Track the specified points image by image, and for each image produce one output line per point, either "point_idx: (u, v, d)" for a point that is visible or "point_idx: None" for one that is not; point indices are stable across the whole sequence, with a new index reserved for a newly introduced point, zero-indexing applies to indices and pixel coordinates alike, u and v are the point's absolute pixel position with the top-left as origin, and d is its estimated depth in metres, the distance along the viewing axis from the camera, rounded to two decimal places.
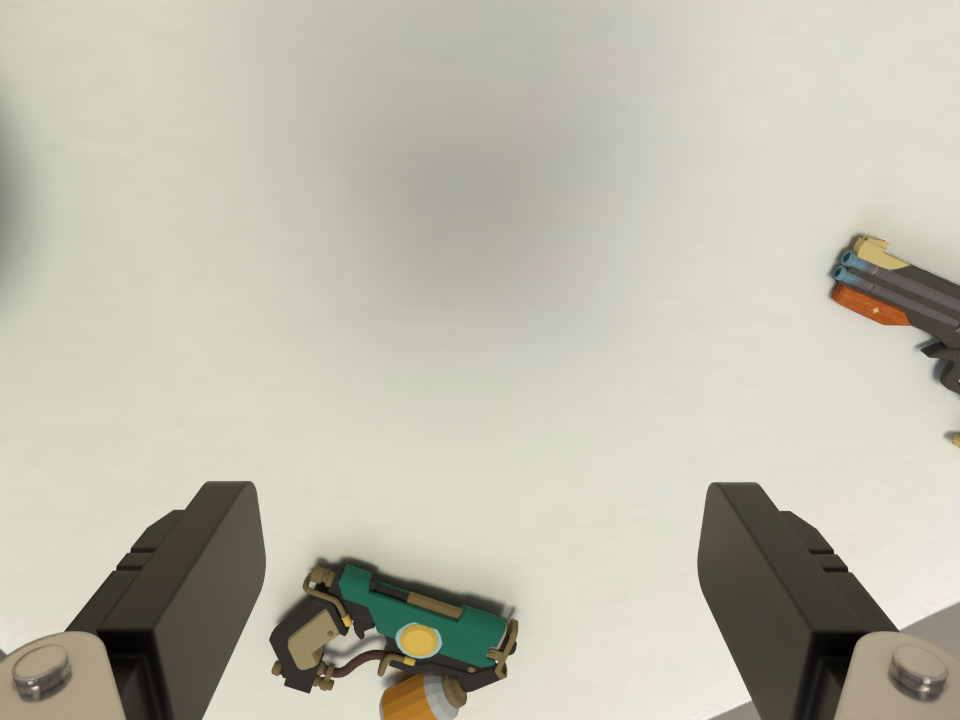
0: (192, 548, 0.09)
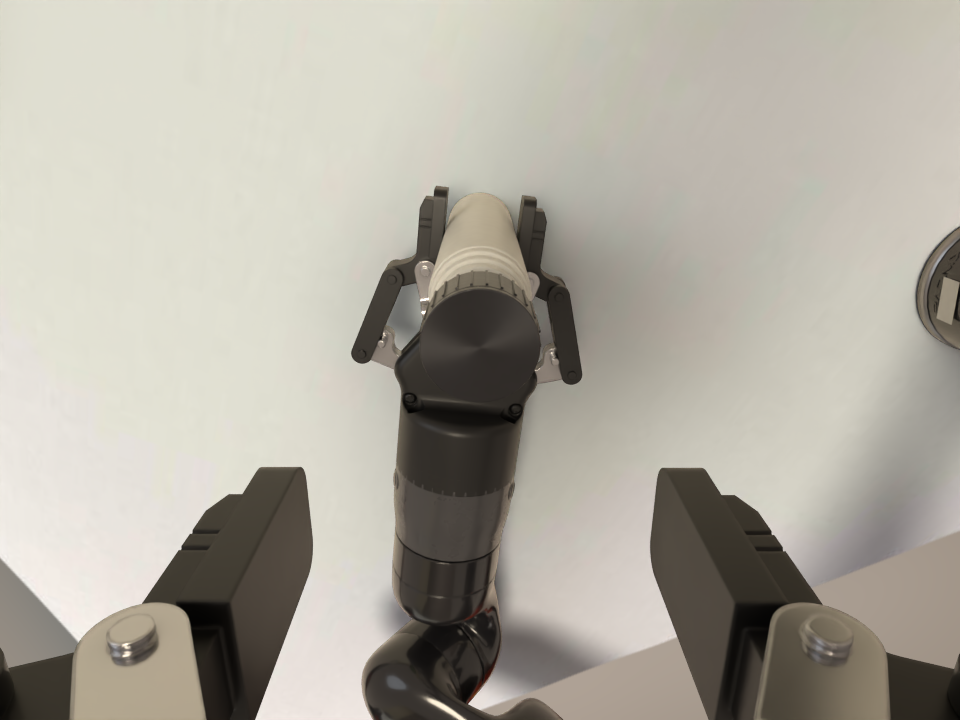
0: (255, 528, 0.10)
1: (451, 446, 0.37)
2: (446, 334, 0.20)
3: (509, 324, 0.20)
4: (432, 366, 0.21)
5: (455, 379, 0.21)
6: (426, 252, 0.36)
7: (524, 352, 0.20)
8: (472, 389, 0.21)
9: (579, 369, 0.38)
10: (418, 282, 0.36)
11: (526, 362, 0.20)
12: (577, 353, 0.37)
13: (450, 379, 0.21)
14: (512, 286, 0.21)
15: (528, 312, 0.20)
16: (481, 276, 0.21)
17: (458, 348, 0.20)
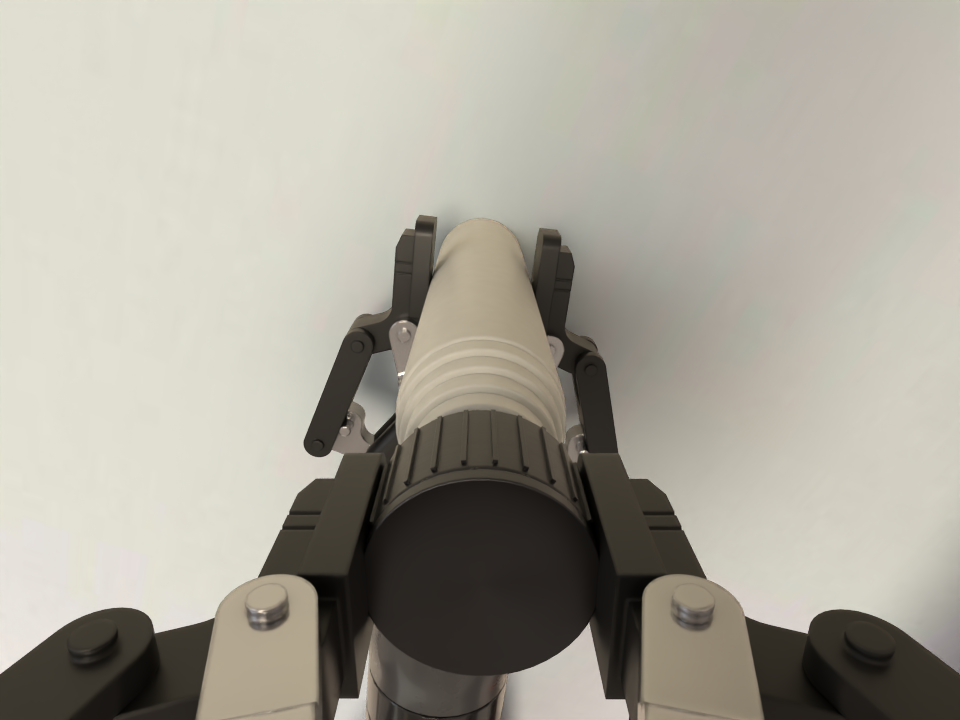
0: (355, 508, 0.10)
1: None
2: (413, 561, 0.10)
3: (541, 543, 0.10)
4: (386, 617, 0.10)
5: (432, 638, 0.11)
6: (405, 308, 0.26)
7: (570, 592, 0.10)
8: (466, 655, 0.11)
9: None
10: (394, 350, 0.26)
11: (573, 609, 0.10)
12: (614, 444, 0.27)
13: (423, 638, 0.11)
14: (543, 448, 0.11)
15: (580, 521, 0.10)
16: (483, 429, 0.11)
17: (438, 586, 0.10)
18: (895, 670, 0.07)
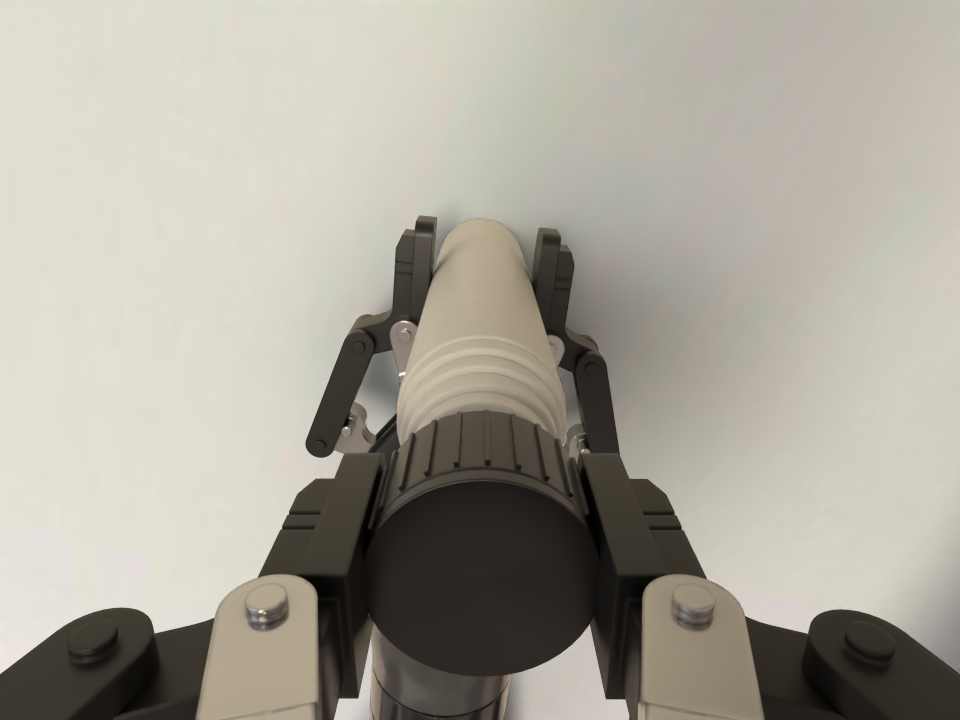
0: (355, 508, 0.10)
1: None
2: (455, 637, 0.10)
3: (431, 536, 0.10)
4: (521, 659, 0.11)
5: (549, 624, 0.10)
6: (406, 308, 0.26)
7: (492, 508, 0.10)
8: (572, 597, 0.10)
9: None
10: (395, 350, 0.26)
11: (515, 504, 0.10)
12: (615, 442, 0.27)
13: (549, 632, 0.10)
14: None
15: (404, 503, 0.10)
16: None
17: (483, 619, 0.10)
18: (895, 670, 0.07)
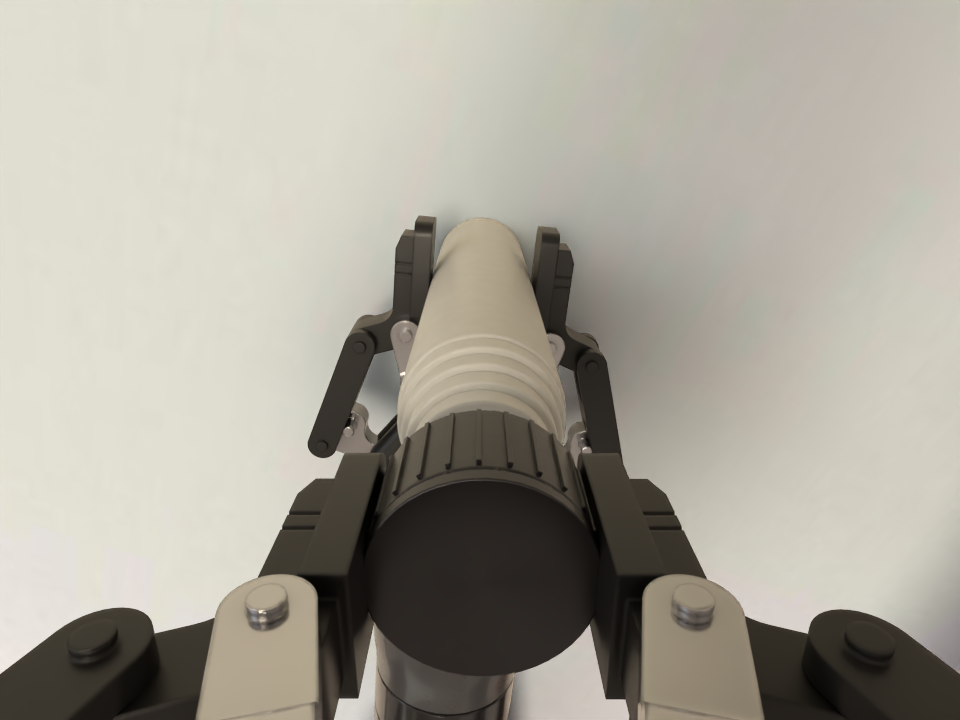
0: (355, 509, 0.10)
1: None
2: (548, 605, 0.10)
3: (426, 623, 0.10)
4: (580, 550, 0.10)
5: (533, 525, 0.10)
6: (406, 308, 0.26)
7: (392, 577, 0.10)
8: (497, 506, 0.10)
9: None
10: (396, 350, 0.26)
11: (386, 559, 0.10)
12: (617, 440, 0.27)
13: (544, 525, 0.10)
14: None
15: (391, 642, 0.11)
16: None
17: (525, 583, 0.10)
18: (895, 670, 0.07)
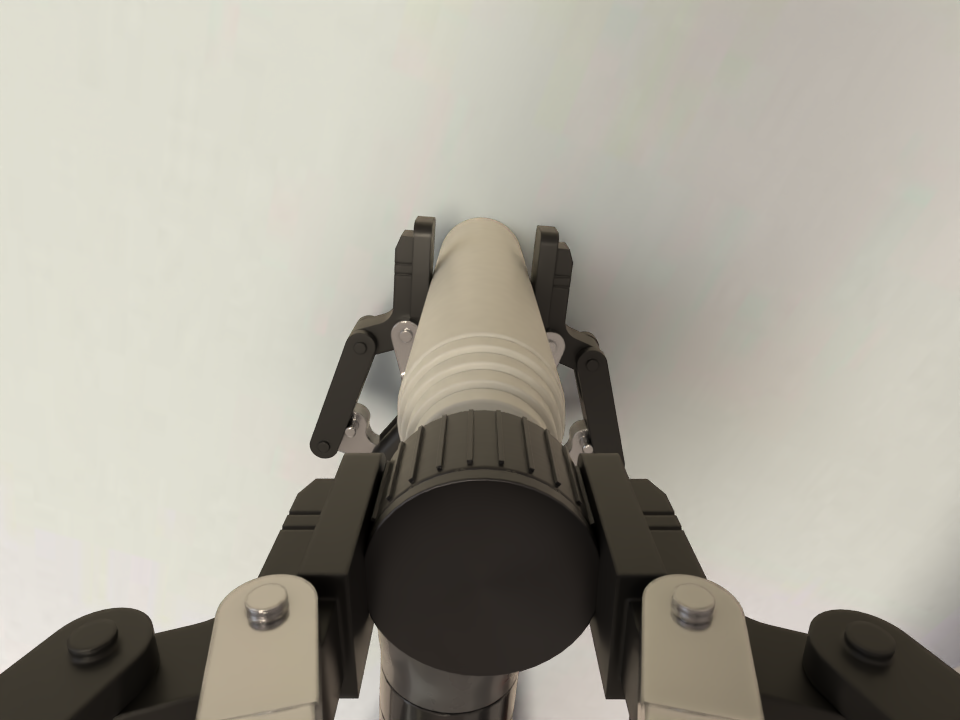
0: (355, 509, 0.10)
1: None
2: (509, 527, 0.10)
3: (530, 629, 0.10)
4: (437, 503, 0.10)
5: (409, 544, 0.10)
6: (406, 308, 0.26)
7: (473, 654, 0.11)
8: (389, 573, 0.10)
9: (621, 458, 0.28)
10: (397, 350, 0.26)
11: (453, 657, 0.11)
12: (618, 437, 0.27)
13: (409, 535, 0.10)
14: None
15: (553, 656, 0.11)
16: None
17: (479, 549, 0.10)
18: (895, 670, 0.07)
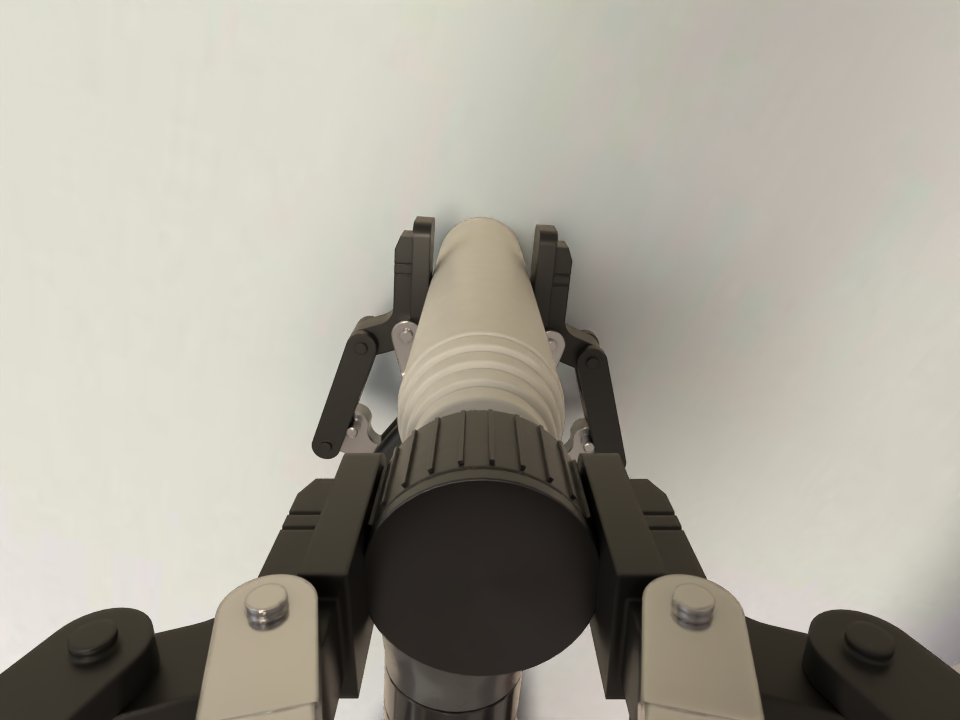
0: (355, 508, 0.10)
1: None
2: (413, 563, 0.10)
3: (540, 542, 0.10)
4: (388, 619, 0.10)
5: (435, 640, 0.10)
6: (407, 308, 0.26)
7: (571, 590, 0.10)
8: (469, 655, 0.11)
9: (622, 456, 0.28)
10: (397, 350, 0.26)
11: (575, 607, 0.10)
12: (619, 435, 0.27)
13: (425, 640, 0.10)
14: (541, 447, 0.11)
15: (578, 519, 0.10)
16: (481, 429, 0.11)
17: (438, 587, 0.10)
18: (895, 670, 0.07)
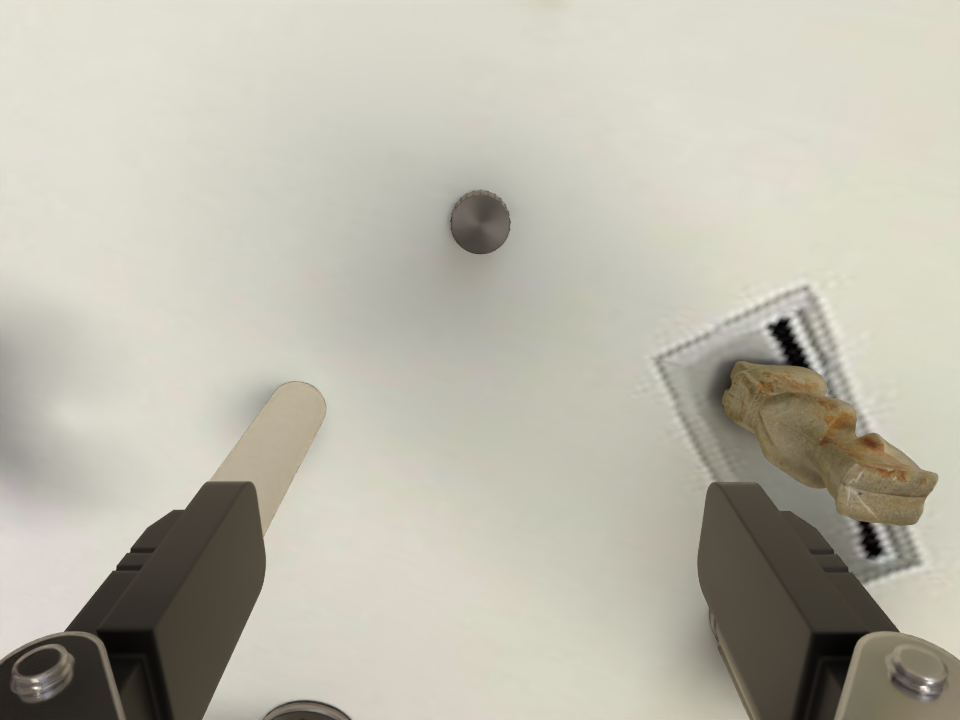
0: (192, 548, 0.09)
1: None
2: (474, 241, 0.42)
3: (468, 211, 0.42)
4: (490, 247, 0.42)
5: (497, 236, 0.42)
6: None
7: (482, 202, 0.41)
8: (502, 227, 0.42)
9: None
10: None
11: (487, 201, 0.41)
12: None
13: (497, 238, 0.42)
14: (455, 206, 0.43)
15: (461, 202, 0.41)
16: None
17: (481, 235, 0.42)
18: None
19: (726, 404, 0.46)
